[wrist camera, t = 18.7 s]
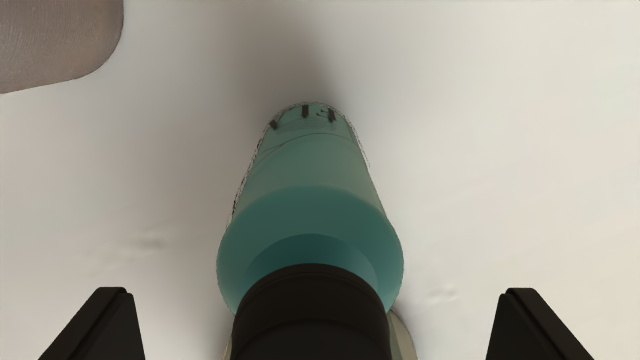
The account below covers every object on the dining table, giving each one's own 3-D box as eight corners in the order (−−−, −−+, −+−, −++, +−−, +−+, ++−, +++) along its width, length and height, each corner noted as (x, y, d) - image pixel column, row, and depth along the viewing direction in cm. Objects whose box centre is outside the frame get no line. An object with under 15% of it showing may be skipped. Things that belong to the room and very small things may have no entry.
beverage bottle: (344, 85, 26) (435, 227, 7) (365, 176, 28) (474, 460, 10) (249, 110, 26) (107, 305, 8) (277, 198, 29) (221, 510, 10)
